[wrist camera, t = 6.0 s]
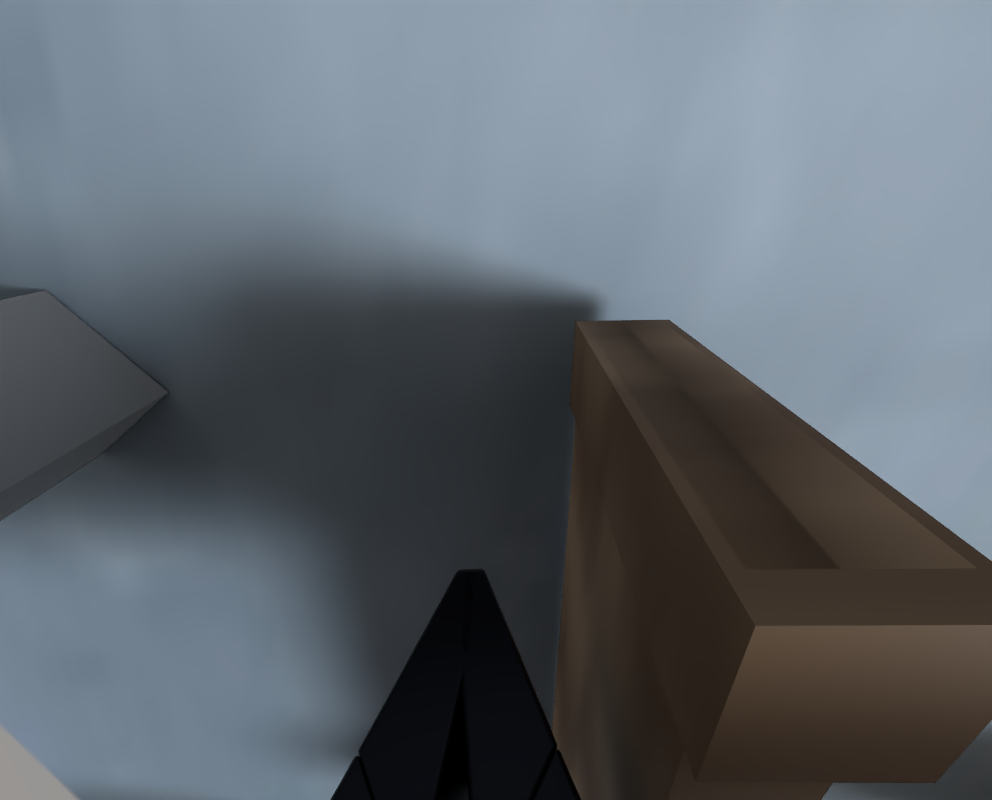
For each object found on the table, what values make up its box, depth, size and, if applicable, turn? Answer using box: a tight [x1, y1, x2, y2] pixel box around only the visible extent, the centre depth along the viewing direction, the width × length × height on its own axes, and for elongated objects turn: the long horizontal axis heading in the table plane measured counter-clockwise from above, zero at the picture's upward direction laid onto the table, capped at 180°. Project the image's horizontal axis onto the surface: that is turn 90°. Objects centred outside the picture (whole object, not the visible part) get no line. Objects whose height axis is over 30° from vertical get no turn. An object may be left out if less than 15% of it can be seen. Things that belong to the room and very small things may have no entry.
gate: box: [552, 320, 992, 800], centre depth 10 cm, size 20×3×8 cm, turn 1°
